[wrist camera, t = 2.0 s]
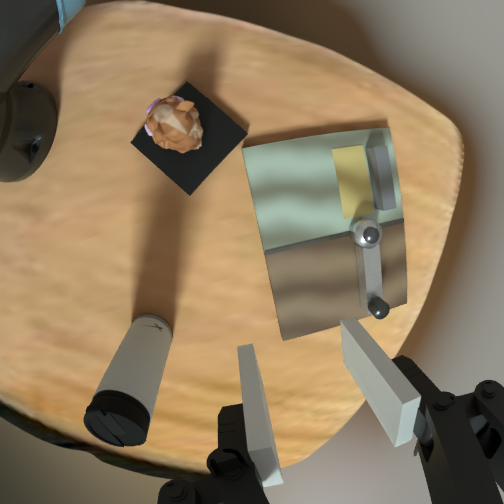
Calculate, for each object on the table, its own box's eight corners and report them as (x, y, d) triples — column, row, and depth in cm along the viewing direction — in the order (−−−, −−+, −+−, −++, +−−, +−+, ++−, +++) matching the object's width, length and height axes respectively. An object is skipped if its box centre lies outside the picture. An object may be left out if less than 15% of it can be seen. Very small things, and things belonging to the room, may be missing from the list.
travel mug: (160, 305, 39) (118, 405, 20) (179, 344, 41) (158, 452, 22) (122, 318, 39) (67, 412, 20) (143, 355, 41) (106, 456, 22)
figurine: (188, 85, 33) (173, 48, 21) (246, 135, 35) (257, 116, 23) (133, 143, 34) (96, 131, 22) (190, 194, 36) (175, 203, 25)
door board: (241, 149, 35) (243, 146, 31) (384, 128, 36) (398, 125, 32) (281, 335, 42) (286, 350, 38) (402, 299, 43) (415, 309, 39)
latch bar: (347, 220, 37) (362, 226, 32) (371, 214, 37) (388, 220, 33) (357, 309, 40) (370, 322, 36) (379, 302, 40) (393, 314, 36)
